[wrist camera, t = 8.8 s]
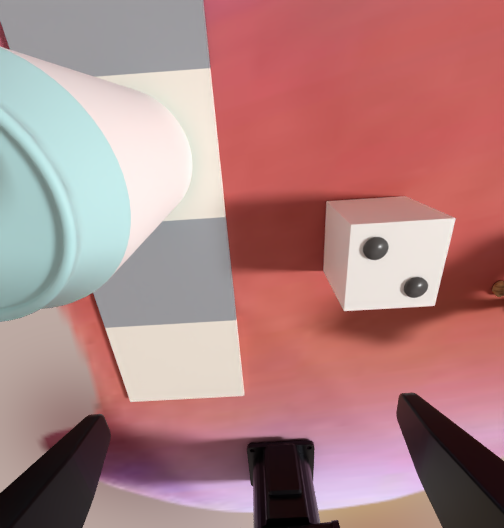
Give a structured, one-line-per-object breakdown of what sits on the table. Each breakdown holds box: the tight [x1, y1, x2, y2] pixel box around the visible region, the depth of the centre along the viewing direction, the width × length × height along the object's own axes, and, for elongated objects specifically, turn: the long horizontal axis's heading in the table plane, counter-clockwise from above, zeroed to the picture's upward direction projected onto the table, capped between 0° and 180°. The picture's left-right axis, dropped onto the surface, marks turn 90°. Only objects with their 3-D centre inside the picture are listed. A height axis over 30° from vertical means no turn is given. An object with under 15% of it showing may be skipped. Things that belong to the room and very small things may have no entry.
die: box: [323, 196, 456, 311], centre depth 17 cm, size 5×5×5 cm
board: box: [0, 0, 244, 402], centre depth 19 cm, size 32×10×1 cm, turn 3°
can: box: [0, 47, 192, 322], centre depth 12 cm, size 7×7×12 cm
